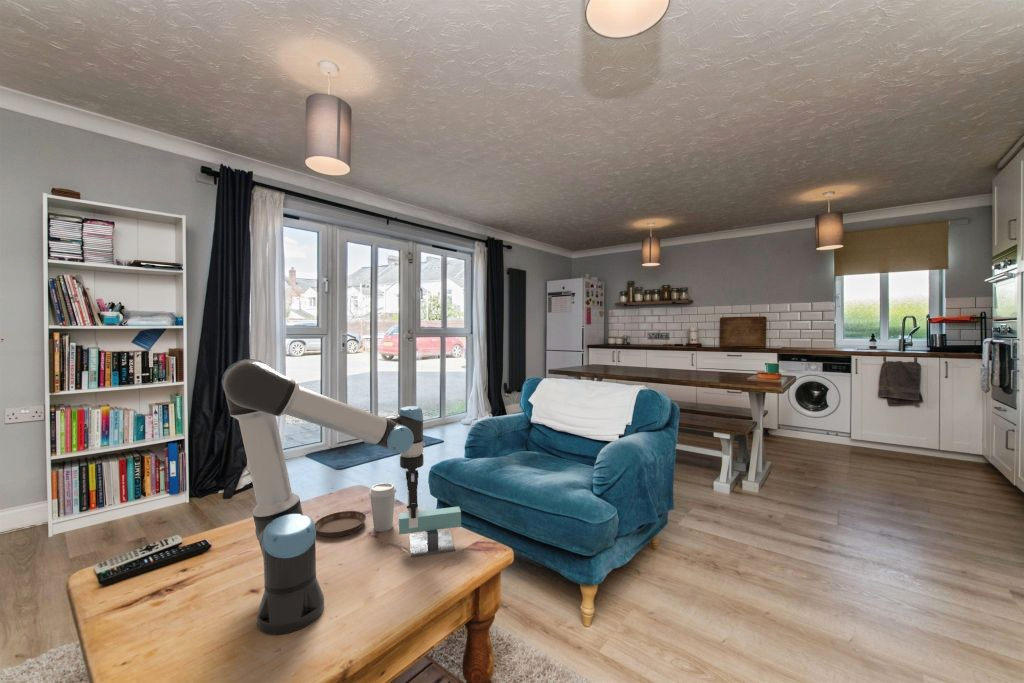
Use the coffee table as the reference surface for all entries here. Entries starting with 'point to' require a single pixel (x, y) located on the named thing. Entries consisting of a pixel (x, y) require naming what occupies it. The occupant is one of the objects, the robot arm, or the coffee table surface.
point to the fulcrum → (431, 543)
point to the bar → (431, 520)
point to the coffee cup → (382, 506)
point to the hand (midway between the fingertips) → (412, 518)
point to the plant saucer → (340, 523)
